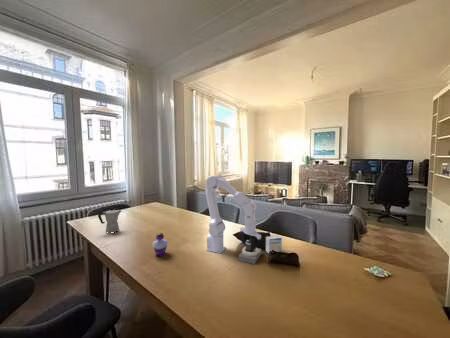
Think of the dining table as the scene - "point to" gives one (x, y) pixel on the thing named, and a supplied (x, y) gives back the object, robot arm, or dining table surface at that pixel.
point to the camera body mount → (249, 256)
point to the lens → (248, 246)
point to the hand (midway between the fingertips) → (250, 247)
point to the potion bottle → (160, 245)
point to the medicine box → (274, 243)
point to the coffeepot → (110, 220)
